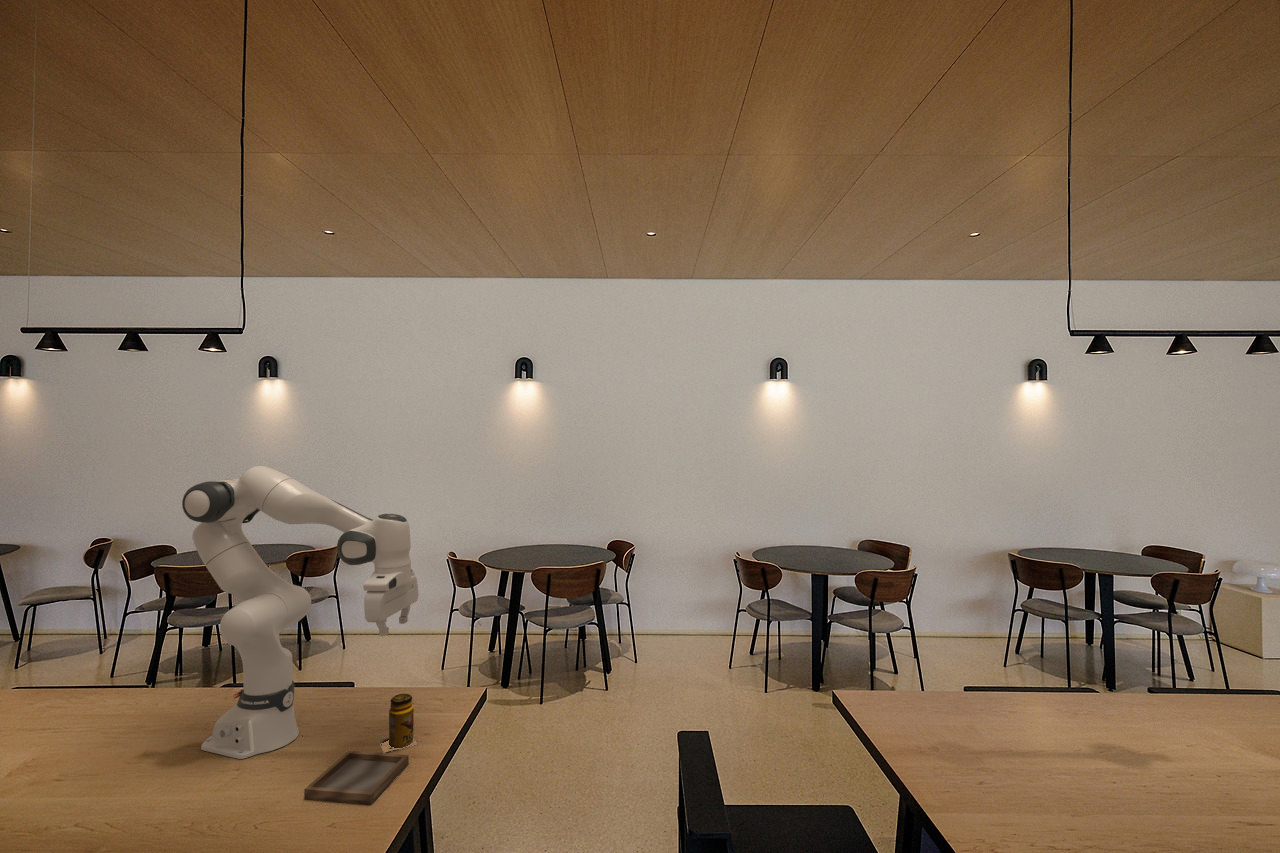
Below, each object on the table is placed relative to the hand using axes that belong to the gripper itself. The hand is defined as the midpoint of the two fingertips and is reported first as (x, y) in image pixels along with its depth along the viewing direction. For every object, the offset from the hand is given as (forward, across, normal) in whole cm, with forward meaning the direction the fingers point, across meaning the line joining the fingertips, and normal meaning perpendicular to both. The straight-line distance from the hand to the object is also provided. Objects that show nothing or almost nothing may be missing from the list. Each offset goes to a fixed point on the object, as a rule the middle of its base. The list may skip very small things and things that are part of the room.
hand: (394, 628), depth 156 cm
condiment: (+31, -1, 0) cm, 31 cm away
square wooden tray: (+30, +16, 0) cm, 34 cm away
